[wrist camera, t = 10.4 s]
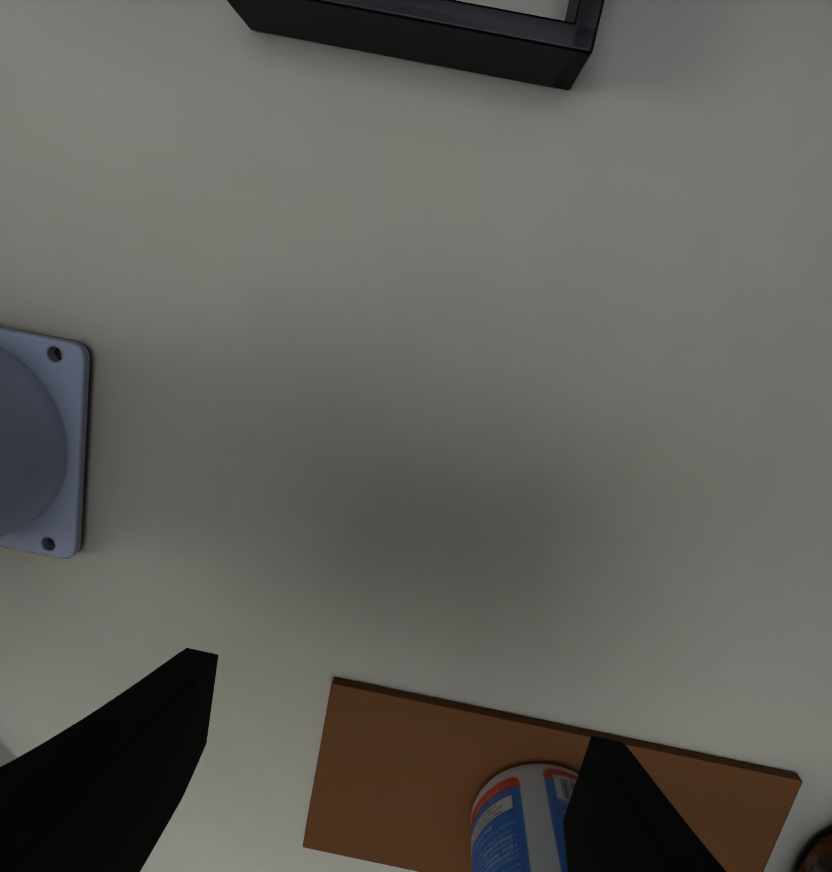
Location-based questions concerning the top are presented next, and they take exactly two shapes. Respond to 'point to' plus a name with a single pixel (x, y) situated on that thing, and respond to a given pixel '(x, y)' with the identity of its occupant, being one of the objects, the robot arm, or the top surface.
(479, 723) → the mat
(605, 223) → the top surface
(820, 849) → the sauce bottle
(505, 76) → the pan
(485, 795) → the pill bottle
